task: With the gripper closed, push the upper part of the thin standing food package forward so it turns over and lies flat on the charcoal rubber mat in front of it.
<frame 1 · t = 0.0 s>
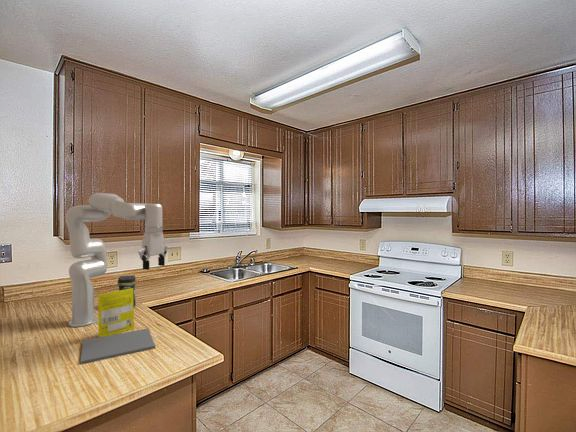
hand: (154, 267, 143), 31 cm above the worktop, tool pointing down, fingers open, 9 cm apart
rubber mat: (118, 345, 132), on the worktop
food package: (117, 334, 144), on the worktop
coffee jar: (127, 307, 184), on the worktop
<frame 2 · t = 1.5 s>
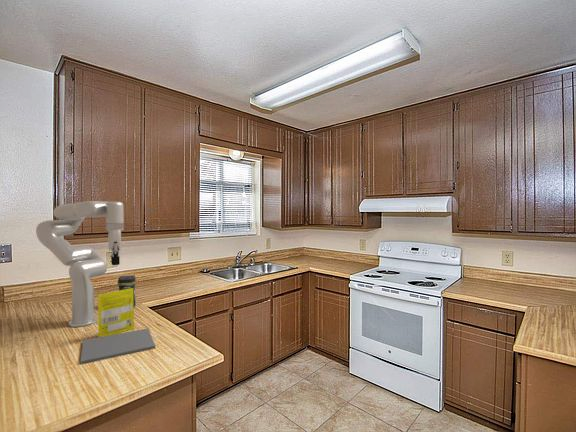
hand: (115, 263, 151), 32 cm above the worktop, tool pointing down, fingers open, 5 cm apart
nothing on the worktop moved.
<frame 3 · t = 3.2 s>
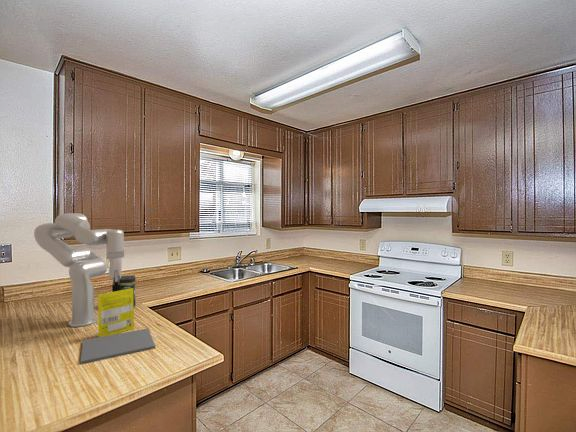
hand: (116, 292, 151), 17 cm above the worktop, tool pointing down, fingers closed
nothing on the worktop moved.
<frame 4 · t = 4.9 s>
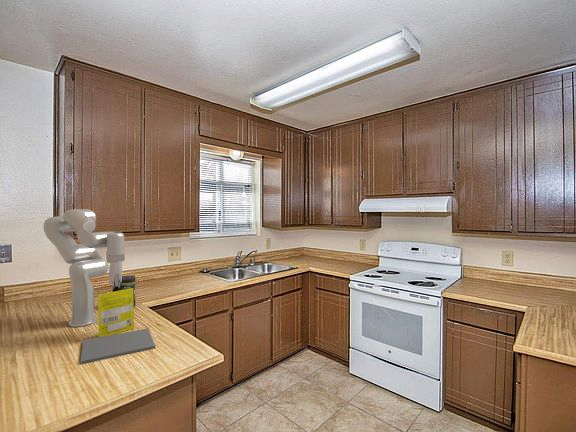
hand: (116, 296, 148), 16 cm above the worktop, tool pointing down, fingers closed
nothing on the worktop moved.
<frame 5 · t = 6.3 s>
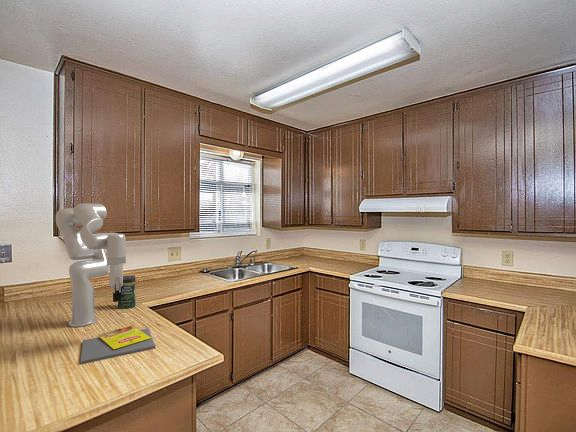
hand: (117, 301, 141), 16 cm above the worktop, tool pointing down, fingers closed
food package: (115, 330, 144), point 2 cm above the worktop, touching rubber mat
everything else where it was.
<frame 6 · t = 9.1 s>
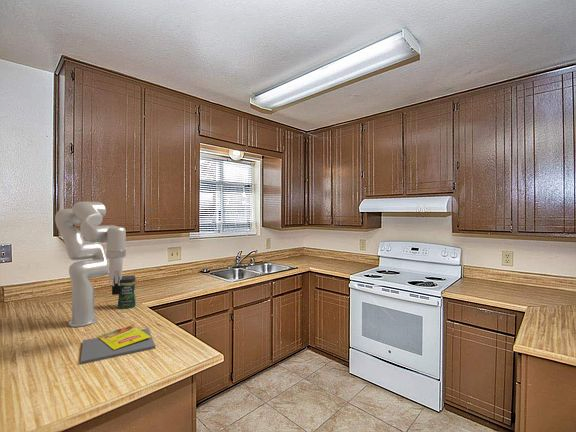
hand: (116, 294, 141), 19 cm above the worktop, tool pointing down, fingers closed
nothing on the worktop moved.
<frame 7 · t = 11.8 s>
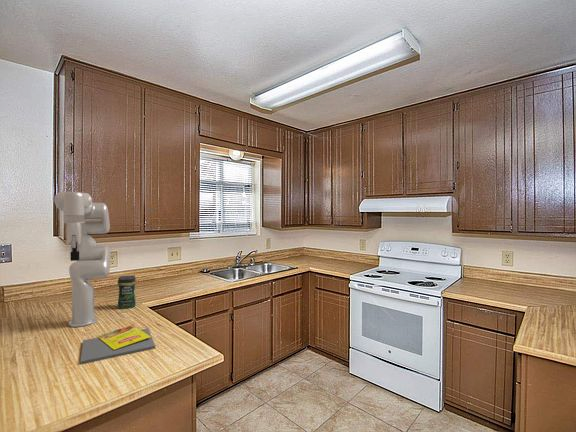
hand: (75, 260, 139), 35 cm above the worktop, tool pointing down, fingers closed
nothing on the worktop moved.
at the end: food package tilted 90°; food package touching rubber mat; food package inside the target area (3.8 cm from its centre), point 1.6 cm above the worktop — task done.
